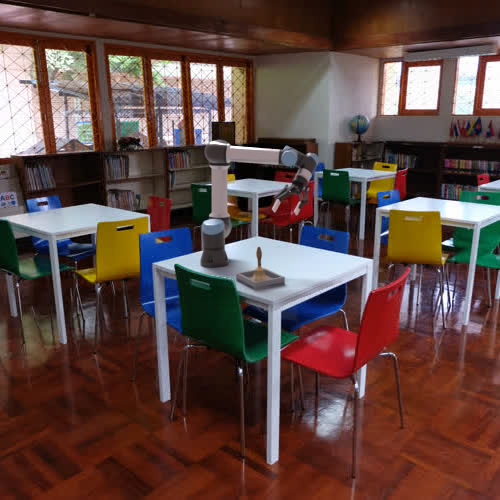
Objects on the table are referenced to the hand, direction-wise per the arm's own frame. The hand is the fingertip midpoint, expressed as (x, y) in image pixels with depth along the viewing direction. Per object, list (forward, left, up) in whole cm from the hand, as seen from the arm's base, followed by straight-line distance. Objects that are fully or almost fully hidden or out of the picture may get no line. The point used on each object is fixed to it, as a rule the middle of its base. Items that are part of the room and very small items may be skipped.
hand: (284, 212), depth 249 cm
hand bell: (+12, -22, -29) cm, 38 cm away
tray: (+12, -22, -30) cm, 39 cm away
